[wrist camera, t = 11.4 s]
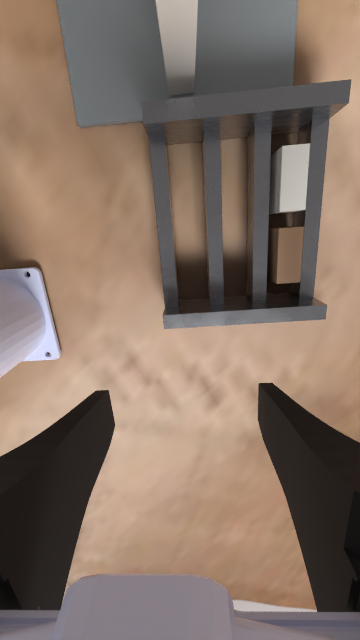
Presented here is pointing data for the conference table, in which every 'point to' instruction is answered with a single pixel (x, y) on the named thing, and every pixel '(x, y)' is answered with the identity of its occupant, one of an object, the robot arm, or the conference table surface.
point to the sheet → (178, 43)
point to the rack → (258, 125)
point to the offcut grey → (289, 179)
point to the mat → (147, 55)
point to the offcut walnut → (285, 254)
